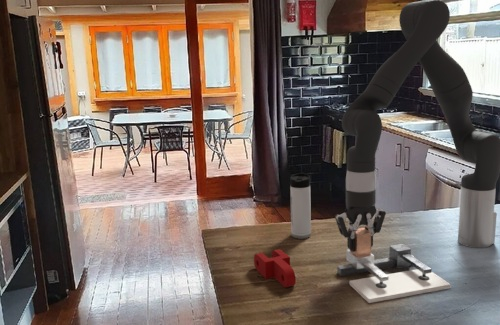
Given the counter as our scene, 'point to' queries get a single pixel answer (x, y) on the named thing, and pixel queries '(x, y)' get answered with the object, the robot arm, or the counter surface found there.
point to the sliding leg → (364, 255)
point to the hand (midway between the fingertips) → (360, 249)
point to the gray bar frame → (390, 262)
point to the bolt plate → (398, 285)
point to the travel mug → (300, 206)
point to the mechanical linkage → (276, 267)
